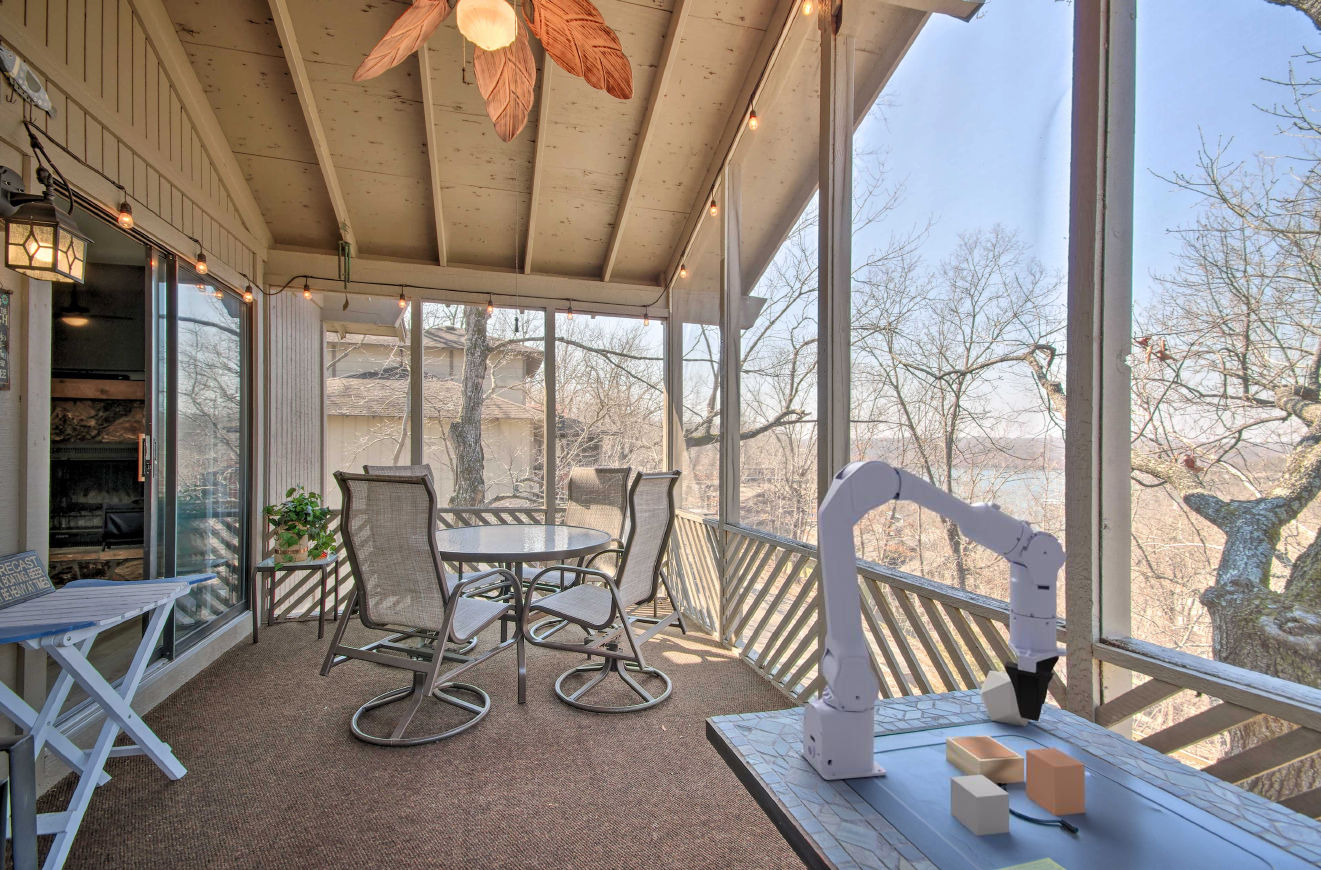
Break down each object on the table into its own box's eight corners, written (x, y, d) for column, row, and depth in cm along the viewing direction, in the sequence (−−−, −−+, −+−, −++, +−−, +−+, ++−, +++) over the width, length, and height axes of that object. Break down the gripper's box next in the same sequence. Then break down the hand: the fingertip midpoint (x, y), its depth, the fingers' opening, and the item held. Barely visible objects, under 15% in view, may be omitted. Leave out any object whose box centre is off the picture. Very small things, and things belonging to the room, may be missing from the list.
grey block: (976, 836, 70) (976, 797, 70) (950, 814, 74) (950, 777, 75) (1009, 832, 71) (1009, 793, 71) (981, 810, 75) (981, 774, 76)
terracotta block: (1054, 815, 75) (1054, 766, 75) (1026, 796, 79) (1026, 749, 79) (1084, 812, 76) (1084, 764, 76) (1054, 793, 80) (1054, 747, 80)
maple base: (979, 787, 81) (979, 760, 82) (946, 761, 88) (946, 737, 88) (1024, 783, 83) (1024, 757, 83) (987, 758, 90) (987, 734, 90)
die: (1034, 720, 105) (999, 666, 110) (1058, 713, 98) (1020, 656, 103) (994, 738, 104) (961, 683, 109) (1015, 733, 97) (979, 674, 102)
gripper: (1062, 629, 77) (1062, 735, 76) (1069, 609, 89) (1070, 702, 88) (1000, 619, 81) (1000, 720, 81) (1015, 601, 93) (1014, 690, 92)
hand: (1032, 710), depth 85 cm, fingers open, 7 cm apart
